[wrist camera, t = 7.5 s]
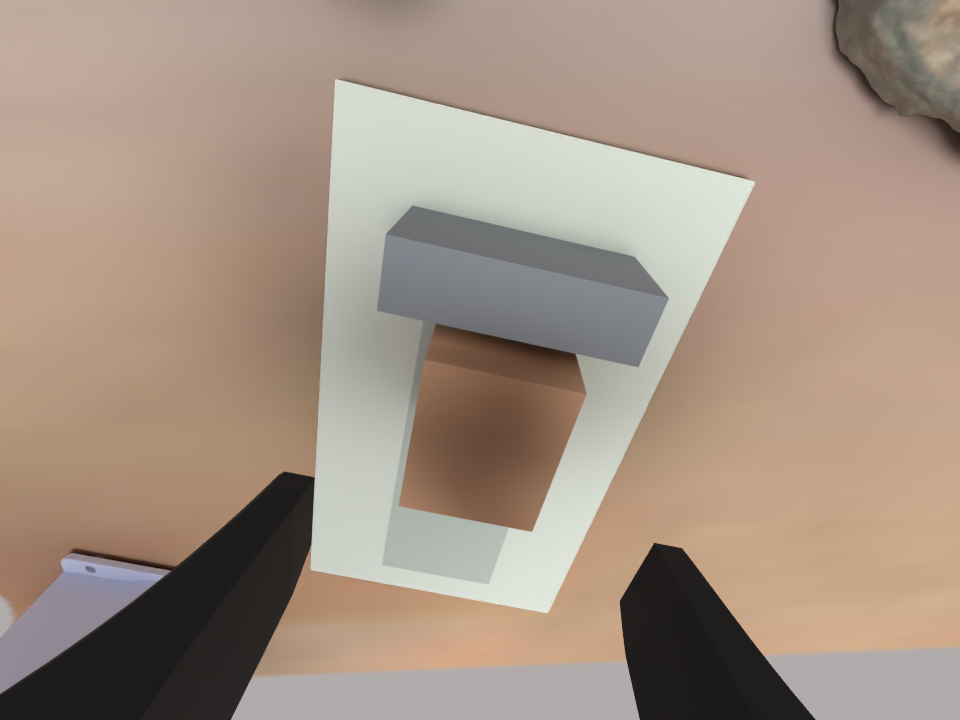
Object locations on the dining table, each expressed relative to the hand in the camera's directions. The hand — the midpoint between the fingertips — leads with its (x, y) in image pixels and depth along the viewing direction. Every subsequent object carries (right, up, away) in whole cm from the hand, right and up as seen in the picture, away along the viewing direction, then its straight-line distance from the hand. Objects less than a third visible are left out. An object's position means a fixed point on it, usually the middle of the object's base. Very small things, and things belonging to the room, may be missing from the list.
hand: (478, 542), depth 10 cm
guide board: (0, +2, +9) cm, 9 cm away
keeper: (0, +4, +7) cm, 8 cm away
